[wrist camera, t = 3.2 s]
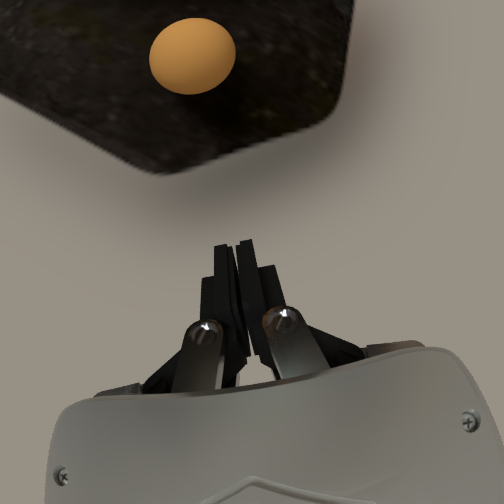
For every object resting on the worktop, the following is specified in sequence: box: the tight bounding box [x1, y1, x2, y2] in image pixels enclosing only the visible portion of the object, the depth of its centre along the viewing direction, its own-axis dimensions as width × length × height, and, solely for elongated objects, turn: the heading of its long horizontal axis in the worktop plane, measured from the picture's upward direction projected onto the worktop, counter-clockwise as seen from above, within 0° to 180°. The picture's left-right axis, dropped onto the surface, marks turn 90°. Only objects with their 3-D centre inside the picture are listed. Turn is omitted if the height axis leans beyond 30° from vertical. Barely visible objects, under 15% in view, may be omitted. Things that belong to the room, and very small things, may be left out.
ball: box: [149, 18, 235, 94], centre depth 13 cm, size 5×5×5 cm
